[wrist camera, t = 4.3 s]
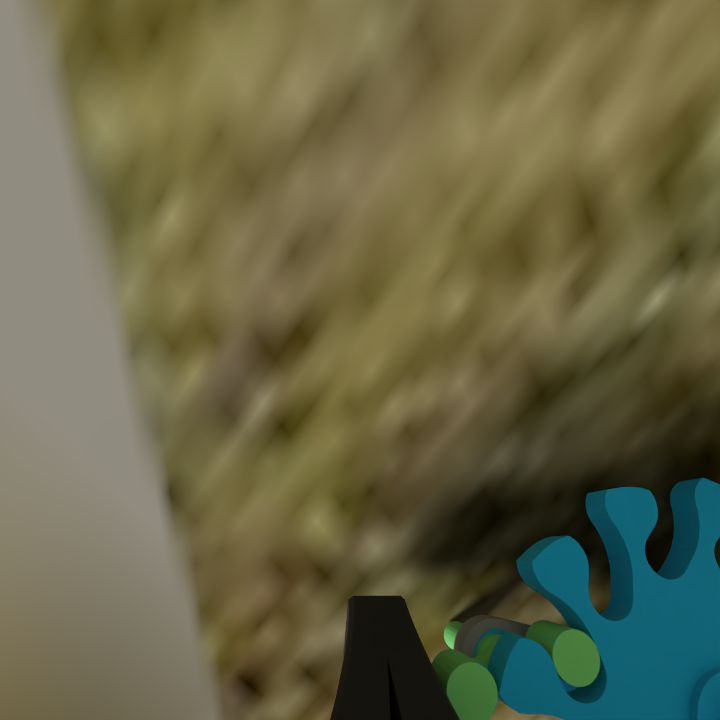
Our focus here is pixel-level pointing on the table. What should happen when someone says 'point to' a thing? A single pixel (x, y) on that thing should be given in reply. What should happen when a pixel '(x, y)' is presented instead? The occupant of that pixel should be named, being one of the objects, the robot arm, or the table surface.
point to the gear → (605, 623)
